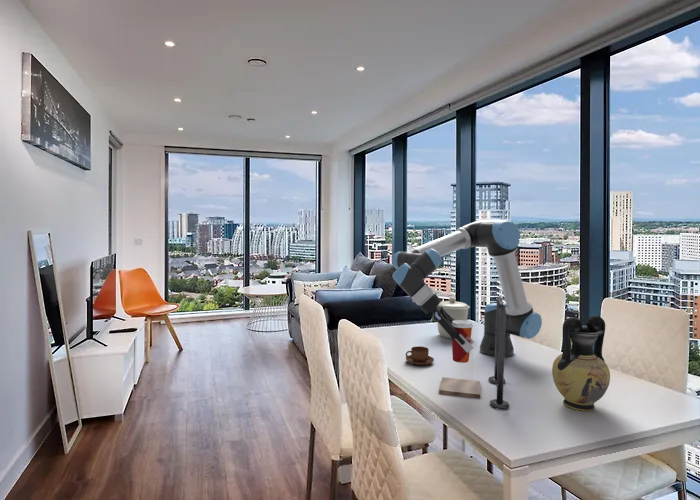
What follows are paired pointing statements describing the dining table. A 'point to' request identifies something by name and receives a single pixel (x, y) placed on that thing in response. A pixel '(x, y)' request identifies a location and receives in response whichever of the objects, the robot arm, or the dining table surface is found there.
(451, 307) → the canister
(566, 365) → the amphora
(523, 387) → the dining table surface
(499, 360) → the frame
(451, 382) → the walnut board
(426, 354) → the cup and saucer
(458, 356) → the paper cup
